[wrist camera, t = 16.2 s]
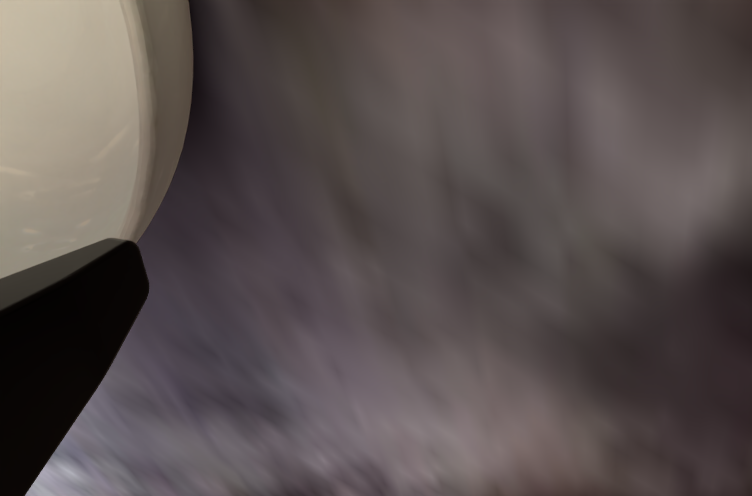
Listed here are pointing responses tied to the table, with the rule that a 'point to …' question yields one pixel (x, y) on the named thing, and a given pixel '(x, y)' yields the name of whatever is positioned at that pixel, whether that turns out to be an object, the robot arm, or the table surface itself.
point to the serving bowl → (88, 120)
